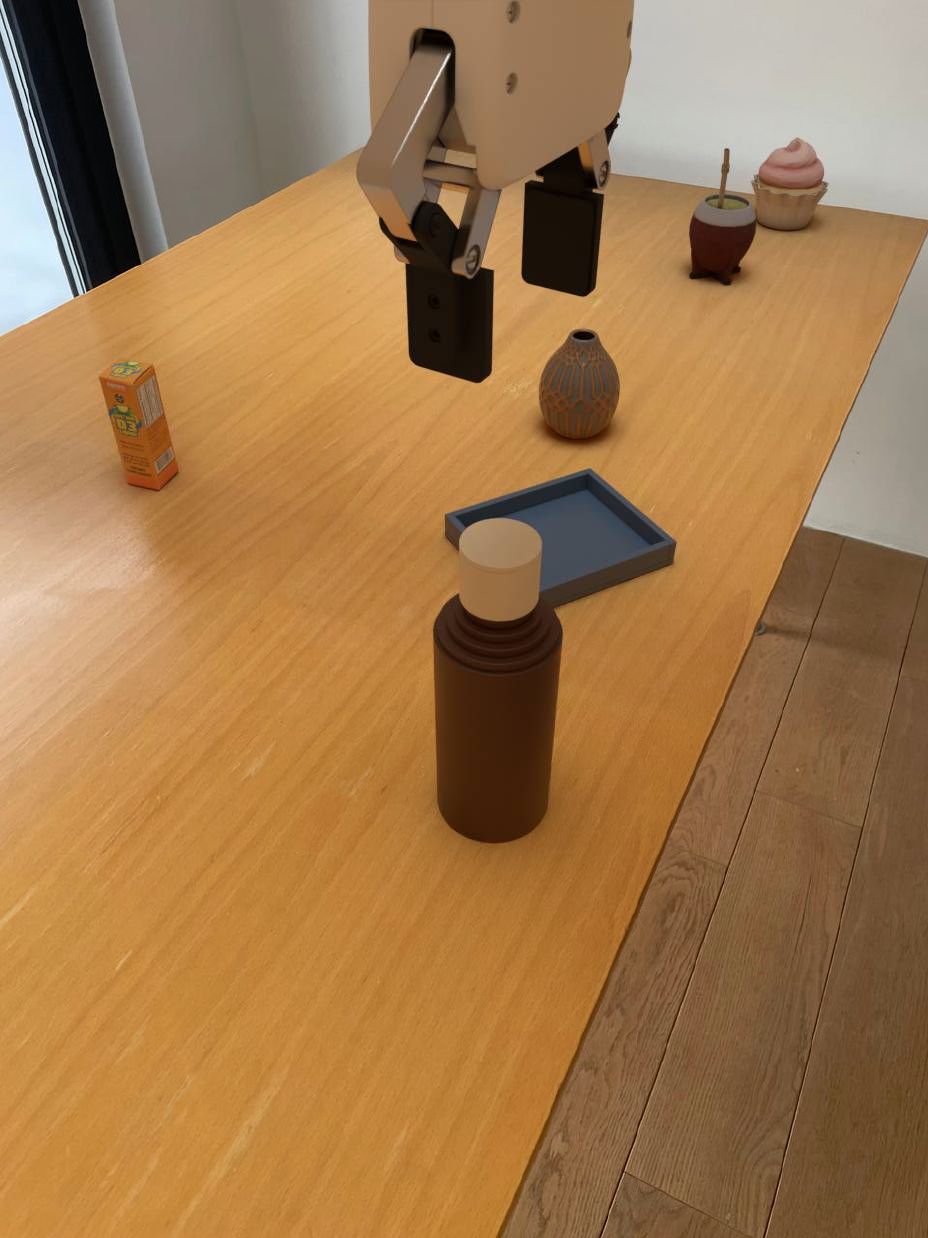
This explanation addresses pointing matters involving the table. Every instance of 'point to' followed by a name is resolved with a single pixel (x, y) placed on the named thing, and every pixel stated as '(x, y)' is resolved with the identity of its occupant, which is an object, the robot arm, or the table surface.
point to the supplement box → (139, 423)
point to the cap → (499, 569)
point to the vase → (579, 387)
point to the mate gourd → (721, 232)
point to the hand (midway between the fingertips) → (507, 324)
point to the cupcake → (789, 186)
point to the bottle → (495, 719)
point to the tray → (577, 534)
